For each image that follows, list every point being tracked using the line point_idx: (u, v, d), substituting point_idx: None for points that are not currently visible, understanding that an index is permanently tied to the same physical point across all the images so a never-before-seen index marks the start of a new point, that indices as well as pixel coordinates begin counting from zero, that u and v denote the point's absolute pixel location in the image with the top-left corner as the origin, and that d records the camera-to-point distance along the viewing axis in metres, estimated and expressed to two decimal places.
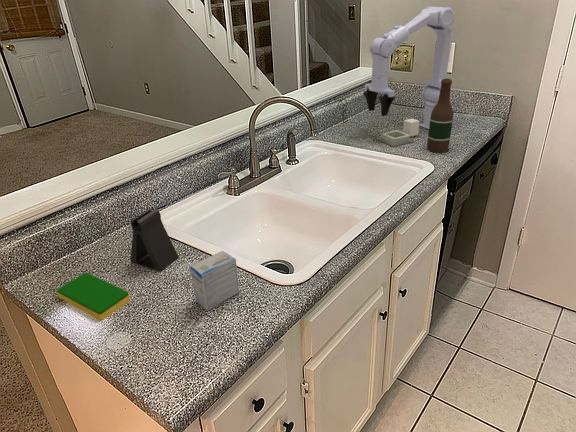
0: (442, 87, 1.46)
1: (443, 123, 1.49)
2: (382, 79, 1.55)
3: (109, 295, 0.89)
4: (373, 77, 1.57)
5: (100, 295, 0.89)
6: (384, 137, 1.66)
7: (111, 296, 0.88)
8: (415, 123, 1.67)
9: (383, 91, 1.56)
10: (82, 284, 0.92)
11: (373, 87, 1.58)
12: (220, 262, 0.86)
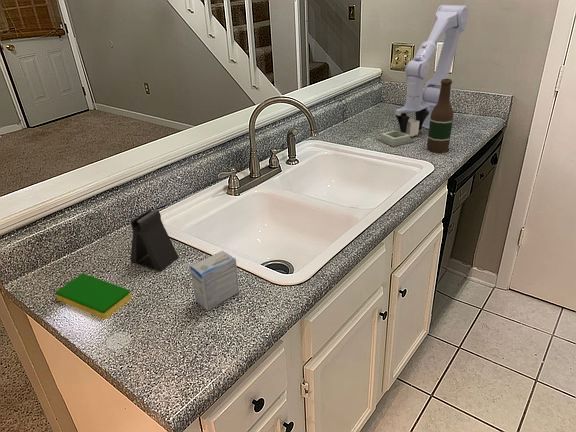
0: (442, 87, 1.46)
1: (443, 123, 1.49)
2: (406, 98, 1.63)
3: (110, 294, 0.89)
4: None
5: (101, 294, 0.89)
6: (384, 137, 1.66)
7: (113, 295, 0.89)
8: (415, 123, 1.67)
9: None
10: (80, 285, 0.92)
11: None
12: (220, 262, 0.86)
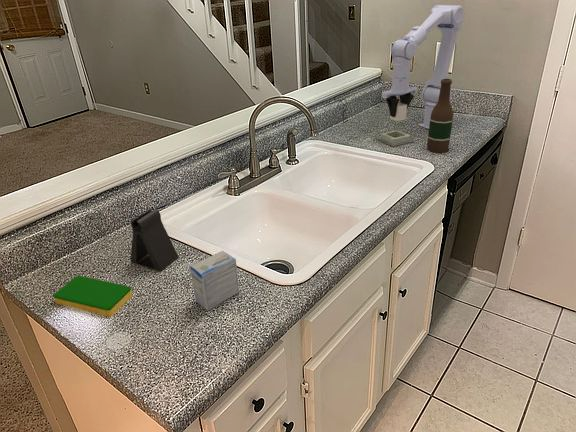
0: (442, 87, 1.47)
1: (442, 123, 1.49)
2: (393, 80, 1.56)
3: (112, 292, 0.90)
4: None
5: (103, 293, 0.89)
6: (384, 137, 1.66)
7: (115, 293, 0.89)
8: (402, 107, 1.59)
9: None
10: (78, 286, 0.92)
11: None
12: (220, 262, 0.86)
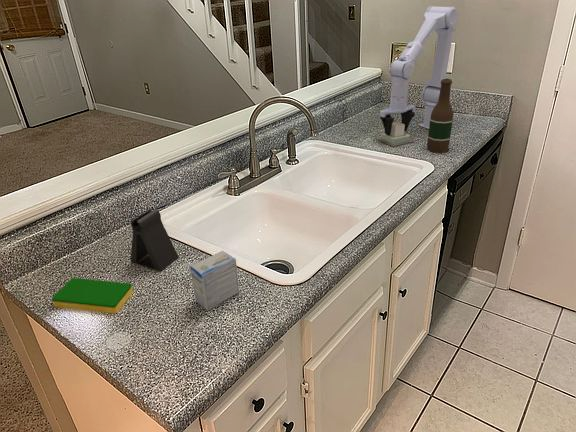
0: (442, 87, 1.46)
1: (442, 123, 1.49)
2: (391, 99, 1.59)
3: (113, 290, 0.90)
4: None
5: (104, 292, 0.90)
6: (384, 137, 1.66)
7: (117, 290, 0.90)
8: (400, 126, 1.62)
9: None
10: (76, 288, 0.91)
11: None
12: (220, 262, 0.86)
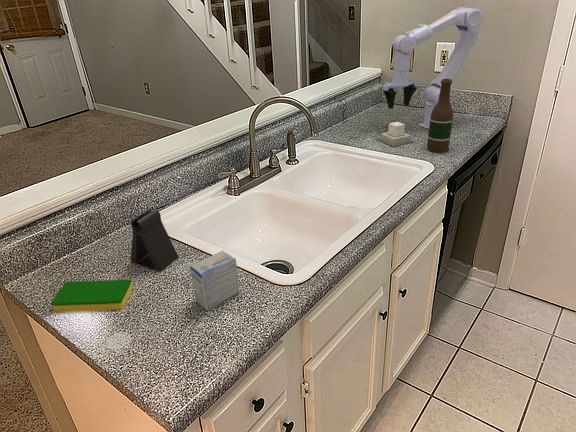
0: (442, 87, 1.46)
1: (443, 123, 1.49)
2: (394, 73, 1.66)
3: (114, 287, 0.91)
4: None
5: (105, 290, 0.90)
6: (384, 137, 1.66)
7: (118, 287, 0.91)
8: (400, 126, 1.62)
9: None
10: (74, 290, 0.91)
11: None
12: (220, 262, 0.86)
